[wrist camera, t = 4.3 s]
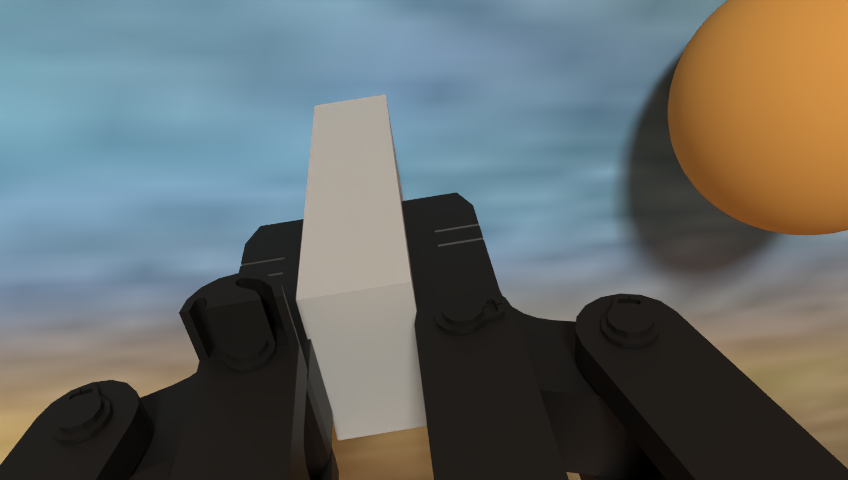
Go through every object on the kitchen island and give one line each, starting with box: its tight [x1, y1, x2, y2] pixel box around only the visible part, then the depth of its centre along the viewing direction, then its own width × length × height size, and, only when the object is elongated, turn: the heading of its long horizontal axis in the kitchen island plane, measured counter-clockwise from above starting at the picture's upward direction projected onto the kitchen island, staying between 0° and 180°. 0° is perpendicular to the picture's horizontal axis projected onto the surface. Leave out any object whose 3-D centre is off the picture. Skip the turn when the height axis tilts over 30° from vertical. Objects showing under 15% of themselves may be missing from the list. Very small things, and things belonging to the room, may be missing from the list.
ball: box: [668, 0, 848, 235], centre depth 14 cm, size 6×6×6 cm
